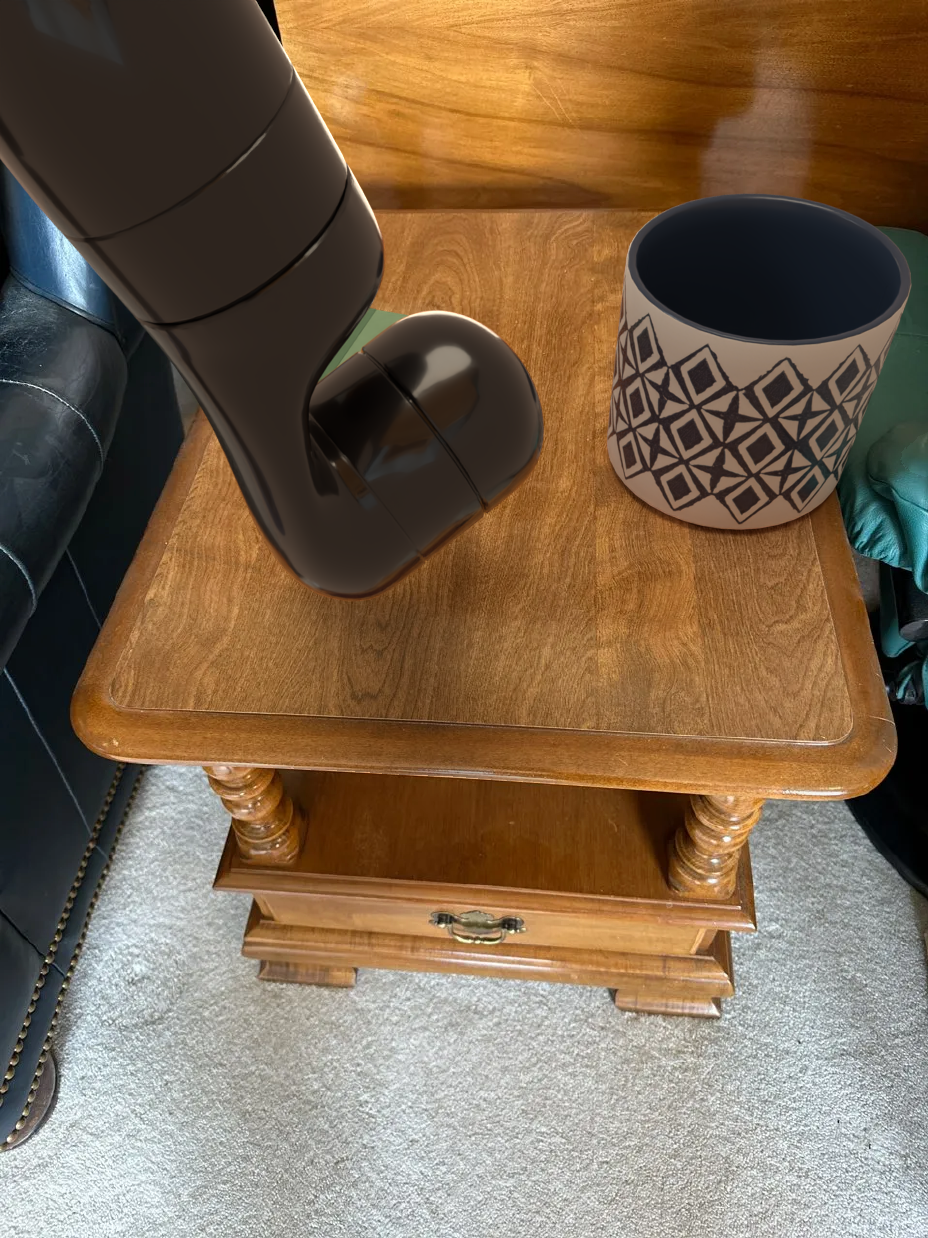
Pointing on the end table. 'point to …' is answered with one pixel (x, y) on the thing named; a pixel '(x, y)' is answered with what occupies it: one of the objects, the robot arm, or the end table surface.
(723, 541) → the end table surface
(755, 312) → the planter
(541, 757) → the end table surface
